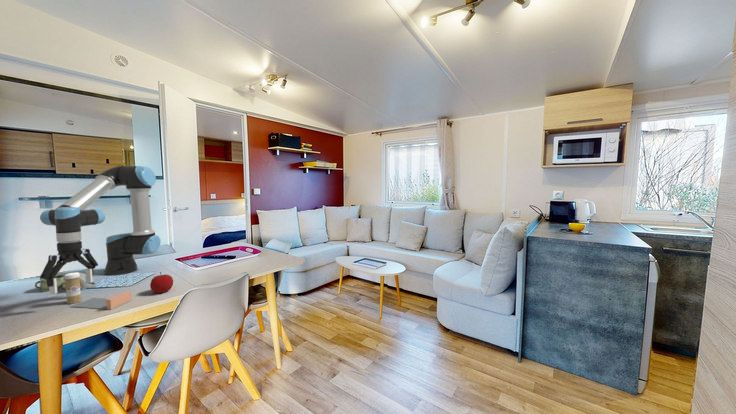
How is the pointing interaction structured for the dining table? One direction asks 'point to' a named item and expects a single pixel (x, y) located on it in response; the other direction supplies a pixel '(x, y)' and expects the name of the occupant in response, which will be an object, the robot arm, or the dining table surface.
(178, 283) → the dining table surface
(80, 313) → the dining table surface
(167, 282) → the apple
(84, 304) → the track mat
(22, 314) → the dining table surface
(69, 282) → the sprinkles bottle
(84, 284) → the ceramic mug
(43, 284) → the vessel
